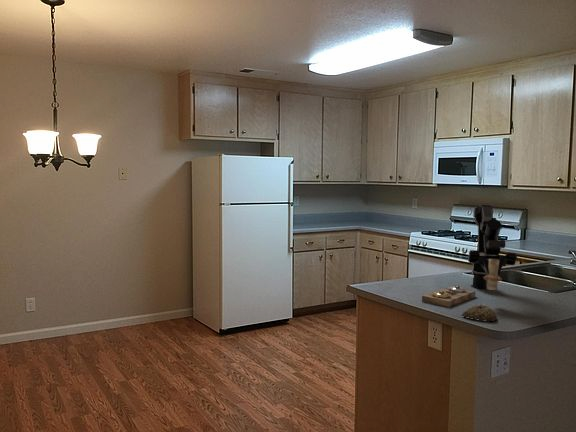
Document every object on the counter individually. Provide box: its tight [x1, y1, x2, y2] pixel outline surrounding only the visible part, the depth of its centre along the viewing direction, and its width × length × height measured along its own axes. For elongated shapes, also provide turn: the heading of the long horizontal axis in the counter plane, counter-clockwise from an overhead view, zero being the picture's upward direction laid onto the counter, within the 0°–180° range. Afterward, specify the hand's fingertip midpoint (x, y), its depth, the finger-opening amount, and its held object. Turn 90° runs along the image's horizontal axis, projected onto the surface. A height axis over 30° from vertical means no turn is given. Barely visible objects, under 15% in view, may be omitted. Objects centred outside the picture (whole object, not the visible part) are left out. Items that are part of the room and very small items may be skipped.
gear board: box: [421, 286, 476, 308], centre depth 218 cm, size 26×12×2 cm, turn 136°
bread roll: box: [461, 304, 498, 322], centre depth 192 cm, size 13×12×5 cm
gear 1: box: [431, 290, 451, 299], centre depth 213 cm, size 8×8×2 cm
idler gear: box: [483, 259, 503, 291], centre depth 209 cm, size 7×7×12 cm
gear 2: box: [447, 285, 468, 293], centre depth 224 cm, size 8×8×2 cm
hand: (493, 274), depth 208 cm, fingers closed on idler gear, 4 cm apart
